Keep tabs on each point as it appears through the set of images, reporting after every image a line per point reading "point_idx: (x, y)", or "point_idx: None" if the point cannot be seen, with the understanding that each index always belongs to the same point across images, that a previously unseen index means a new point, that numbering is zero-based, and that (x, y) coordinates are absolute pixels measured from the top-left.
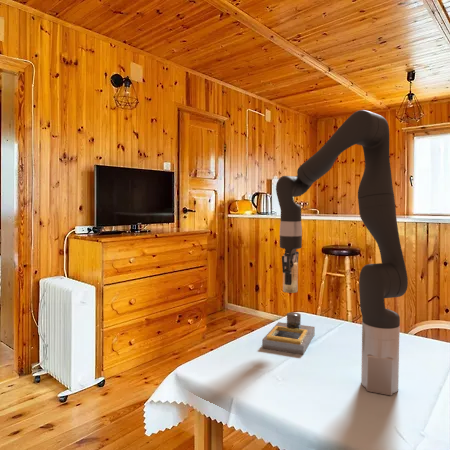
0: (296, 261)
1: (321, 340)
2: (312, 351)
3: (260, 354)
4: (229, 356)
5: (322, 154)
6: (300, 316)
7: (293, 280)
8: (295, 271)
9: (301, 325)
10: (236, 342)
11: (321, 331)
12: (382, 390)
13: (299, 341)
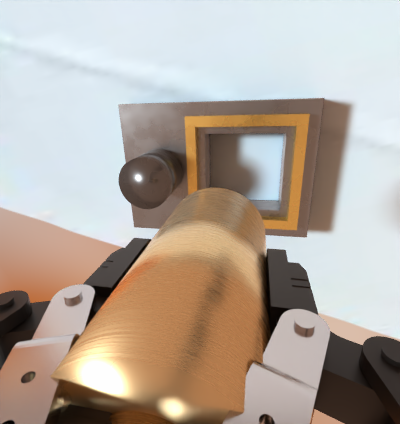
0: (46, 393)
1: (165, 70)
2: (273, 77)
3: (346, 219)
4: (382, 287)
5: None
6: (141, 156)
7: (255, 249)
8: (229, 289)
9: (128, 151)
10: None
11: (87, 89)
12: None
13: (308, 117)
